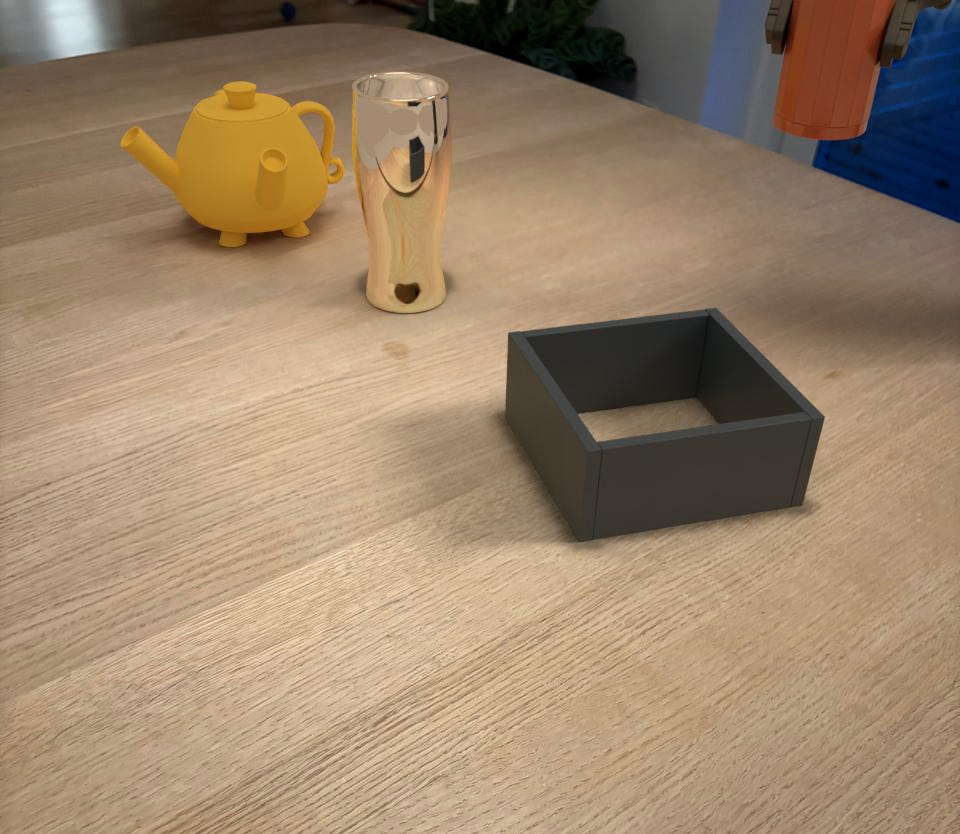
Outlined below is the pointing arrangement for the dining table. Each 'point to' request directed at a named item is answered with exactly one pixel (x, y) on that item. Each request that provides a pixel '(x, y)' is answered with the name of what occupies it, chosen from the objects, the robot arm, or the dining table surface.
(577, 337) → the open box
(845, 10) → the tumbler
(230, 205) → the teapot
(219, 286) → the dining table surface
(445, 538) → the dining table surface
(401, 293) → the beer glass
